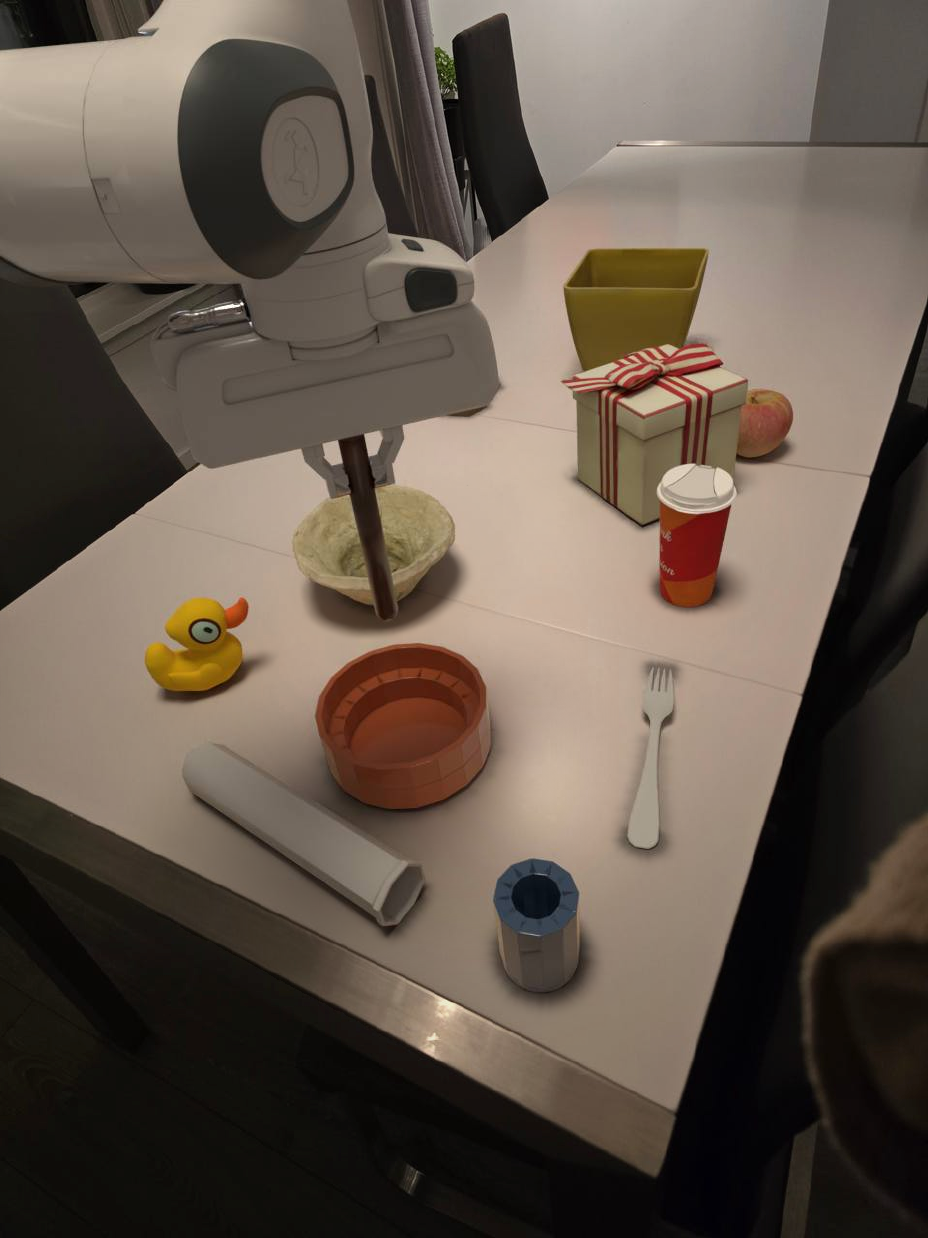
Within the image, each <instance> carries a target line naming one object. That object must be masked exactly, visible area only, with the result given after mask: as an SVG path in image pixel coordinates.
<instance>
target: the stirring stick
mask: <svg viewBox="0 0 928 1238" xmlns="http://www.w3.org/2000/svg"><path fill="white" fill-rule="evenodd" d="M337 444H338V448H339V453H340V458H341V461H342V462H341V463H343V466H344V470H346V473H347V476H348V481H349V487H350V490H351V495H350V498H351V503H352V507H353V512H354V516H355V521H356V526H357V530H358V535H359V539H360V544H361V548H362V553H363V557H364V562H365V566H366V571H367V576H368V580H369V585H370V589H371V594H372V598H373V603H374V605H373V608H374V611H375V614H376V616H377V618H378V619H380V620H382V621H391V620H393V619H395V618H396V617H397V615H398V613H399V605H398V601H397V600H396V595H395V590H394V584H393V579H392V574H391V569H390V564H389V559H388V554H387V549H386V543H385V538H384V533H383V528H382V523H381V518H380V513H379V508H378V502H377V497H376V492H375V488H374V484H373V479H372V478H373V477H372V473H371V469H370V461H369V456H370V455H369V453H368V451H369V450H368V447H367V442H366V435H365V434H362V435H358V436H354V437H349V438H345V439H341V440H337Z"/></svg>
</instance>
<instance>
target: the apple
mask: <svg viewBox="0 0 928 1238" xmlns="http://www.w3.org/2000/svg"><path fill="white" fill-rule="evenodd" d="M793 421H794V410H793V406H792V404H791V402H790V401H789V399H788V398H787V397H786V396H785V395H784V394H783V393H781V392H779V391H775V390H772V389H764V388H754V389H748V390H747V399H746V404H744V405H742V408H741V416H740V424H739V434H738V443H737V451H736V455H738V456H740V457H744V458H757V457H761V456H764V455H767V454H769V453H771V452H772V451H773V450H775V449H776V448H777V447H778V446H779V445H780V444H781V443H783V442H784V440H785V439H786V437H787V436H788V434H789V432H790V430H791V427H792V425H793V423H794V422H793Z"/></svg>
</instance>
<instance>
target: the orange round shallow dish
mask: <svg viewBox="0 0 928 1238" xmlns="http://www.w3.org/2000/svg"><path fill="white" fill-rule="evenodd" d="M314 719H315V723H316V727H317V731H318V736H319V739H320V743H321V745H322V748H323V751H324V754H325V758H326V761H327V764H328V767H329V770H330V773H331V775H332V777H333V778H334V780H335V781H336V782H337V784H338V785H339V786H340V787H341V788H342V790H343V791H344V792H345V793H347V794H348V795H350V796H352V797H354V798H355V799H357V800H358V801H360V802H362V803H363V804H366V805H370V806H375V807H379V808H384V809H387V810H398V809H416V808H421V807H425V806H428V805H430V804H434V803H437V802H440V801H444V800H446V799H448V798H449V797H450V796H452V795H454V794H455V793H457V792H459V791H460V790H462V789H463V788H465V787H466V786H468V785H469V783H470V782H471V781H472V780H473V779H474V778H475V777H476V776H477V774H478V773H479V772H480V771H481V770H482V768H484V765H485V763H486V760H487V758H488V755H489V752H490V751H491V748H492V731H491V730H492V727H491V717H490V708H489V699H488V690H487V685H486V683H485V681H484V679H483V677H482V675H481V672H480V670H479V669H478V668H477V667H476V666H475V665H474V664H473V663H472V662H471V661H469V660H468V659H467V658H466V657H465V656H464V655H463V654H460V653H458V652H456V651H453V650H451V649H449V648H446V647H444V646H440V645H434V644H428V643H422V642H413V643H396V644H391V645H387V646H384V647H381V648H377V649H373V650H370V651H367V652H366V653H364V654H362V655H360V656H357V657H356V658H355V659H353V660H350V661H349V662H347V663H346V664H345V665H343V666H342V667H341V668H340V669H339V670H338V671H337V672H335V673H334V674H333V675H332V676H331V677H330V678H329V680H328V682H327V683H326V685H325V686H324V688H323V689H322V691H321V692H320V694H319V696H318V699H317V705H316V709H315V714H314Z"/></svg>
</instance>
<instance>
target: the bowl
mask: <svg viewBox="0 0 928 1238" xmlns="http://www.w3.org/2000/svg"><path fill="white" fill-rule="evenodd" d="M375 492H376V497H377V502H378V508H379V513H380V518H381V523H382V528H383V533H384V538H385V543H386V549H387V554H388V559H389V564H390V569H391V574H392V579H393V584H394V590H395V595H396V600H397V602H399V601H401V600H402V599H405V597H407V596H409V594H410V593H411V592H412V591H413V590H414V589H415V588H416V587H417V585H418V584H419V582H420V581H421V580H422V578H423V577H424V576H425V575H426V574H427V573H428V572H429V570H430V568H431V567H433V566H435V564H436V563H438V562H439V561H440V560H441V559H442V558H443V557H444V556H445V554H446V552H447V551H448V549H450V547H451V546H452V545H453V544H454V543H455V541H456V524H455V522H454V518H453V516H452V515H451V514H450V512H449V511H448V510H447V509H446V507H445V506H444V505H443V504H441V502H440V501H439V500H438V499H436V498H435V497H433V496H431V495H430V494H428V493H426V492H424V491H422V490H421V489H416V488H412V487H408V486H404V485H398V484H392V485H388V486H384V487H379V488H375ZM291 544H292V552H293V554H294V558H295V561H296V565H297V569H298V570H299V571H300V572H301V574H303V575H304V576H305V577H307V579H309V580H310V581H312V582H315V583H316V584H319V585H321V586H324V587H327V588H329V589H333V590H335V591H337V592H338V593H341V594H342V595H345V596H347V597H348V598H350V599H352V600H354V601H356V602H359V603H361V604H364V605H367V606H374V603H373V598H372V594H371V589H370V585H369V580H368V576H367V571H366V566H365V562H364V557H363V553H362V548H361V544H360V539H359V535H358V530H357V526H356V521H355V516H354V512H353V507H352V503H351V498H350V495H347V496H343V497H339V498H335V499H330V496H329V497H327V498H325V499H324V500H322V501H321V503H319V504H318V506H317V507H315V508H314V509H313V510H312V511H311V512H310V513H308V515H306V516H305V517H304V518H303V519H302V520H301V522H300V523H299V524H298V525H297V528H296V529H295V531H294V533H293V535H292V540H291Z"/></svg>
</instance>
